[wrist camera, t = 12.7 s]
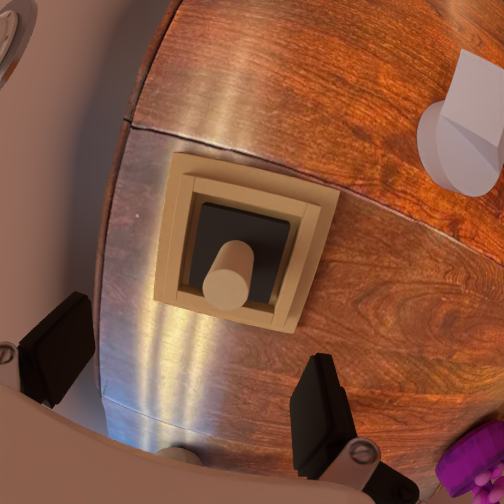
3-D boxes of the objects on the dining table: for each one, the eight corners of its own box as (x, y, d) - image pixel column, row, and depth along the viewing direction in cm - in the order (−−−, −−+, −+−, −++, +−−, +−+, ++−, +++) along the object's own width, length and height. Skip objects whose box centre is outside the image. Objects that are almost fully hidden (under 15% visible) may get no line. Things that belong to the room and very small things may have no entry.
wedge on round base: (444, 56, 17) (402, 157, 21) (482, 39, 11) (443, 159, 15) (498, 111, 18) (463, 207, 22) (538, 109, 12) (505, 224, 16)
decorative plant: (415, 466, 38) (441, 568, 10) (471, 412, 32) (523, 525, 4) (461, 457, 39) (490, 538, 11) (509, 408, 33) (555, 492, 5)
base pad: (156, 295, 27) (147, 307, 24) (176, 152, 22) (166, 151, 20) (293, 328, 27) (294, 343, 25) (338, 189, 23) (345, 193, 20)
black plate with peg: (192, 277, 25) (165, 322, 18) (205, 201, 23) (177, 221, 15) (268, 296, 25) (267, 348, 18) (289, 221, 23) (298, 250, 16)
